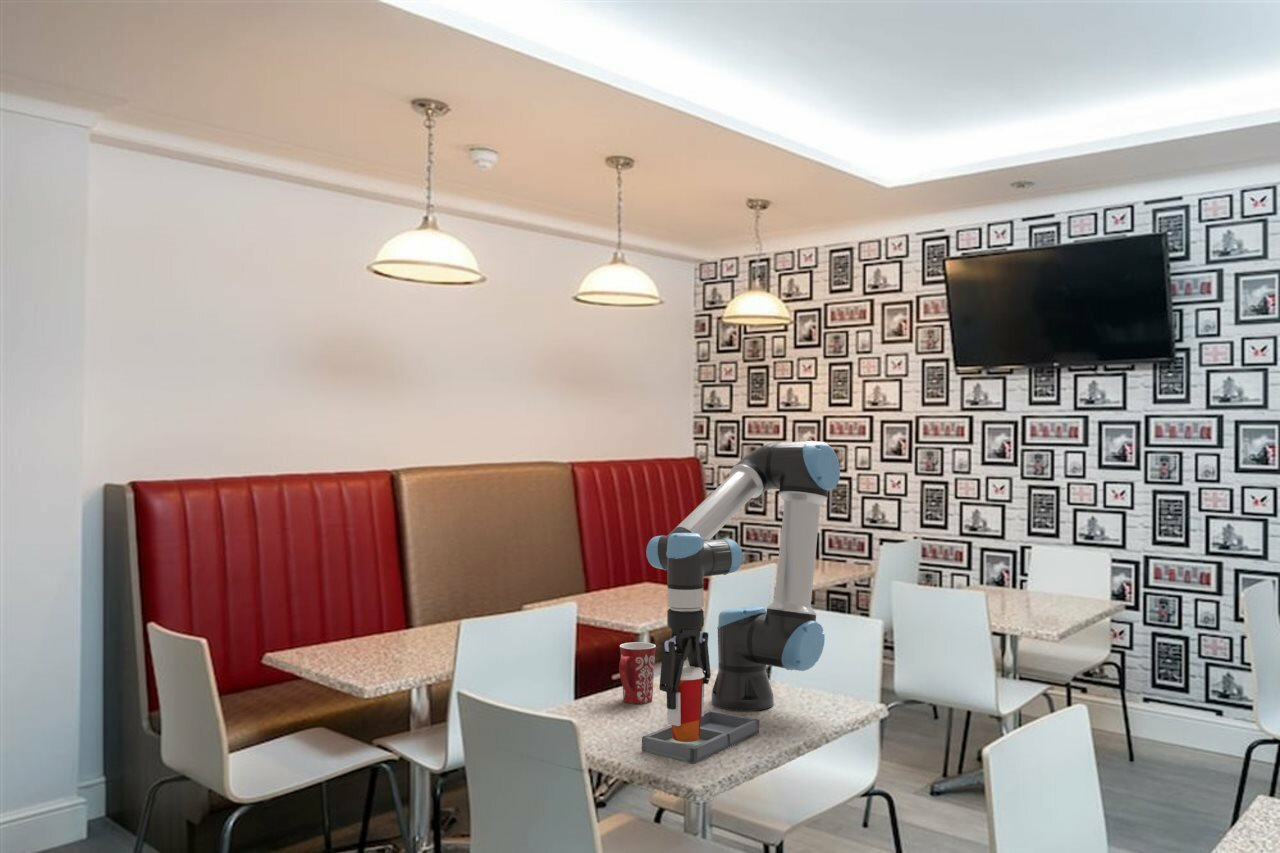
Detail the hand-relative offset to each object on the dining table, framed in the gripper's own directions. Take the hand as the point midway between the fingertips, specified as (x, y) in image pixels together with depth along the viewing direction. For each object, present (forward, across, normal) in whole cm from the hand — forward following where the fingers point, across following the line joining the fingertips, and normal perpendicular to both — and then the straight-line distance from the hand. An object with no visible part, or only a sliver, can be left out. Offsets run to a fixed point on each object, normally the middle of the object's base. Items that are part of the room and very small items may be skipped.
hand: (686, 719), depth 182 cm
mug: (+6, -22, -31) cm, 38 cm away
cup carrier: (+6, -6, 0) cm, 8 cm away
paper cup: (+4, 0, 0) cm, 4 cm away
